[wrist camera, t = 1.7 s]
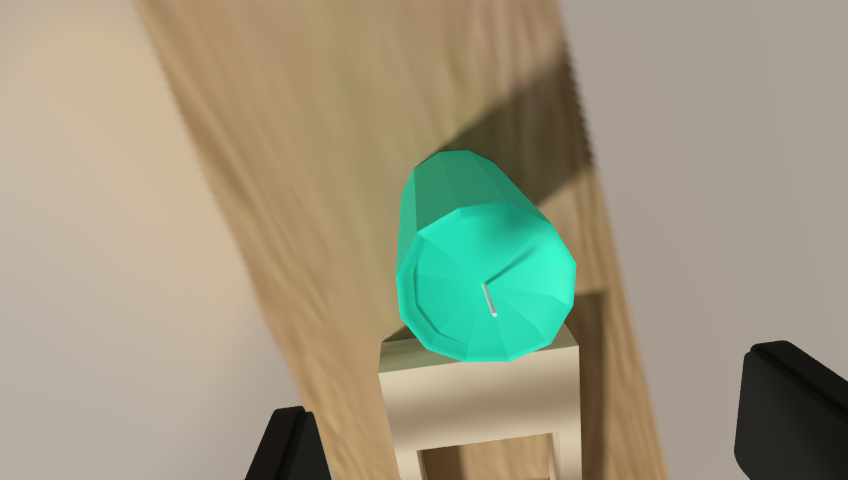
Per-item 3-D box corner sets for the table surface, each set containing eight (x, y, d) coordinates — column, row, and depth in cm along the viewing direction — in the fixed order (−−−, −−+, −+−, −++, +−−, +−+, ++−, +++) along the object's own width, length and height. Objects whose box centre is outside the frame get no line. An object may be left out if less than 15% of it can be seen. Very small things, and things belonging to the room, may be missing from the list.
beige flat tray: (381, 342, 27) (378, 373, 25) (561, 317, 27) (578, 345, 24) (426, 564, 34) (428, 608, 32) (570, 546, 34) (584, 588, 31)
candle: (533, 198, 25) (637, 303, 13) (459, 274, 26) (496, 427, 15) (452, 124, 23) (492, 173, 12) (378, 210, 25) (351, 325, 13)
